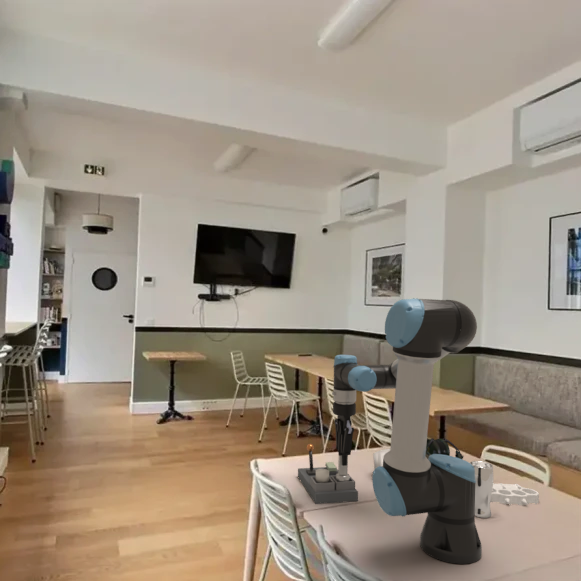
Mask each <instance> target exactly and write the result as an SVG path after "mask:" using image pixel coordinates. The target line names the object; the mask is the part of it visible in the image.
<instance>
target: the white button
mask: <svg viewBox="0 0 581 581" xmlns="http://www.w3.org/2000/svg"><path fill="white" fill-rule="evenodd" d="M316 481H317V482H319V483H327V482H329V470H327V469H317V470H316Z"/></svg>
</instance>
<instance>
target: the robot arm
mask: <svg viewBox="0 0 581 581" xmlns="http://www.w3.org/2000/svg"><path fill="white" fill-rule="evenodd" d="M477 324H478V323H477V319H476V316H475V314H474V313H473V311H472V310H471V309H470V308H469V307H468V306H467V305H466V304H464V303H462V302H461V301H457V300H455V299H431V298H430V299H429V298H418V297H417V298H414V297H413V298H404V299H399V300H398V301H396V302H394V303H393V305H392V306H391V307H390V308H389V310H388V311H387V314H386V318H385V322H384V334H385V339H386V342H387V343H388V344H389V345H390V346H392V353H393V354H394V355H395V356H396V357H397V358H396V359H395V360H394V361H392V362H391V363H390V364H358V358H357V356H355V355H353V354H352V355H351V354H337V355H335V356H334V360H333V391H332V392H331V395H332V396H333V399H332V400H333V403H332V414H334V416H335V415H336V417H337V418H335V419H334V420H333V421H334V425H335V426H334V427H335V428H334V429H335V448H336V450H337V453H338V462H337V464H338V468H337V469H338V474H339V475H347V474H348V471H349V470H348V467H349V465H348V464H349V463H348V462H349V456H351V453H352V446H353V445H352V444H353V436H354V431H355V427H352V426H353V424H352V423H353V422H352V418H351V417H352V416H355V415H356V413H357V412H356V409H357V405H356V402H357V392H364V393H366V392H369V391H371V390H386V389H387V390H388V389H389V390H391V389H393V390H394V389H395V390H394V403H393V415H392V426H391V437H390V438H391V439H390V448H389V449H390V451H389V452H387V453H386V454H385V455H384V458H383V466H379V467H377V468H375V470H373V472H372V476H371V477H372V481H371V482H372V490H373V492H374V496H375V498H376V501H377V503H378V505H379V507H380V508H381V510H382V511H383V512H384V513H385V514H386V515H388V516H389V517H406V516H410V515H411V516H412V515H420V514H427V515H426V519H425V521H424V522H423V523H424V524H423V526H422V529H421V533H420V535H419V536H420V537H419V545H420V548H421V549H422V551H423V552H424V553H425V554H427V555H428V556H430V557H432V558H434V559H437V560H439V561H443V562H446V563H450V564H456V565H458V564H459V565H463V564H465V565H466V564H472V563H475V562H477V561H479V560H480V559H481V558H482V554H483V553H482V548H483V547H482V541H481V538H480V535H479V532H478V529H477V526H476V522H475V521H476V519H475V518H476V516H475V483H476V480H475V469H474V467H473V466H472V465H471V464H470V462H469V461H467V460H466V459H465V460H464V459H463V460H462V459H460V458H456V456H453V455H450V456H448V455H442V454H432V455H430V456H429V458H428V459H427V458H426V456H425V455H426V444H427V439H428V431H429V420H430V410H431V400H432V387H433V376H434V369H435V368H434V366H435V365H434V364H436V363H437V362H439V361H441V359H443V358H444V357H446V356H447V355H449V354H457V353H459V352H460V351H462V350H463V349H465V348H466V347H468V345H470V344H471V343H472V341H473V340H474V338H475V337H476V334H477V329H478V325H477Z"/></svg>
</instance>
